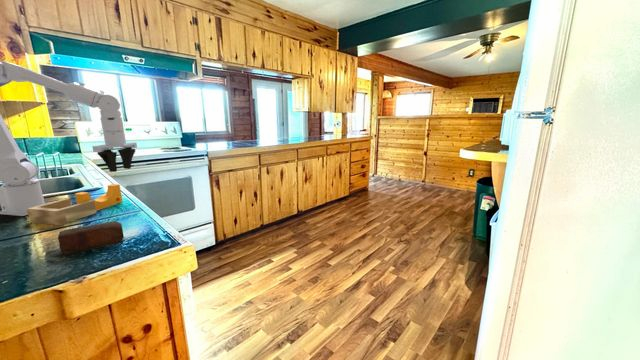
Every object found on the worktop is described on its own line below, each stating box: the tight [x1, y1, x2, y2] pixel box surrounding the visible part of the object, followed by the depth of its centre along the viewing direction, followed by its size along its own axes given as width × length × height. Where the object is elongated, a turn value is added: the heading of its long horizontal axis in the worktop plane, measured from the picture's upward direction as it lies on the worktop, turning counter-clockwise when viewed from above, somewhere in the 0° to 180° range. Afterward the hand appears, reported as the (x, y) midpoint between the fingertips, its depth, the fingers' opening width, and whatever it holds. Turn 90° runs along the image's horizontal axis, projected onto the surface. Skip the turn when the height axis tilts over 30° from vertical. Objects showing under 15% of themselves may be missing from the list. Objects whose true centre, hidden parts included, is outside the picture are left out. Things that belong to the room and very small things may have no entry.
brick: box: [57, 220, 124, 256], centre depth 57 cm, size 11×4×5 cm, turn 130°
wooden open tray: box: [27, 197, 98, 226], centre depth 74 cm, size 10×10×4 cm
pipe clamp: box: [74, 183, 123, 212], centre depth 82 cm, size 12×4×6 cm, turn 170°
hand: (120, 170), depth 90 cm, fingers open, 5 cm apart
